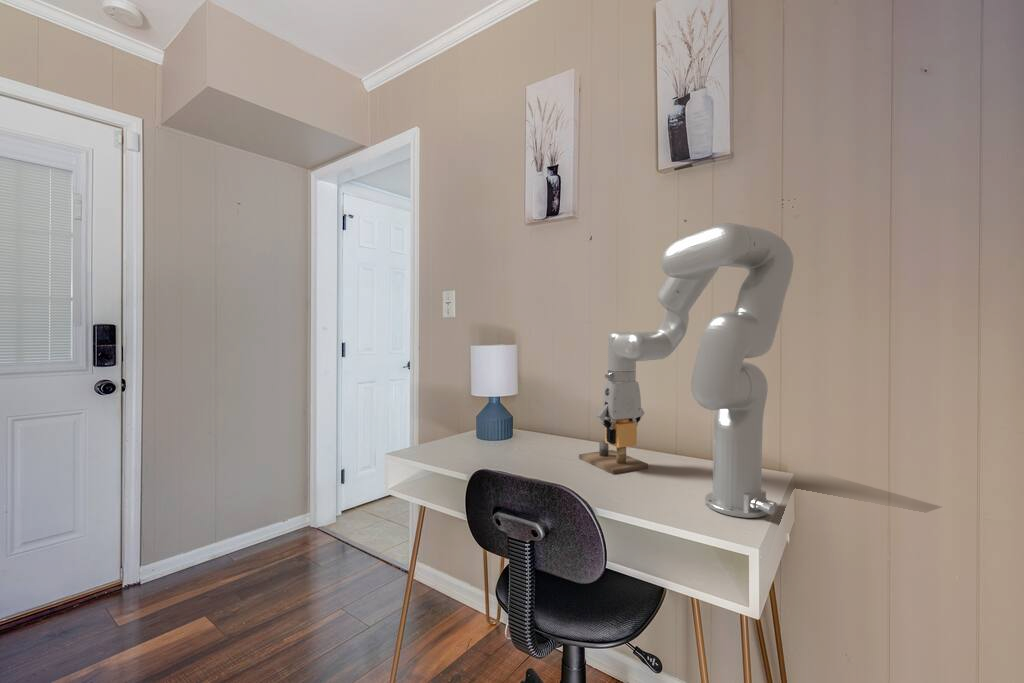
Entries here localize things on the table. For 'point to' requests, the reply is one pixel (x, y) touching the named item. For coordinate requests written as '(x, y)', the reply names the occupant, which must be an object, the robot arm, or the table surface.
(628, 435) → the knobbed tan cube
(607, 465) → the post board
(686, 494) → the table surface
